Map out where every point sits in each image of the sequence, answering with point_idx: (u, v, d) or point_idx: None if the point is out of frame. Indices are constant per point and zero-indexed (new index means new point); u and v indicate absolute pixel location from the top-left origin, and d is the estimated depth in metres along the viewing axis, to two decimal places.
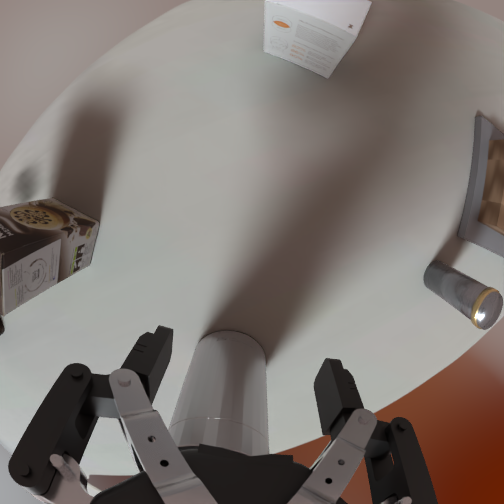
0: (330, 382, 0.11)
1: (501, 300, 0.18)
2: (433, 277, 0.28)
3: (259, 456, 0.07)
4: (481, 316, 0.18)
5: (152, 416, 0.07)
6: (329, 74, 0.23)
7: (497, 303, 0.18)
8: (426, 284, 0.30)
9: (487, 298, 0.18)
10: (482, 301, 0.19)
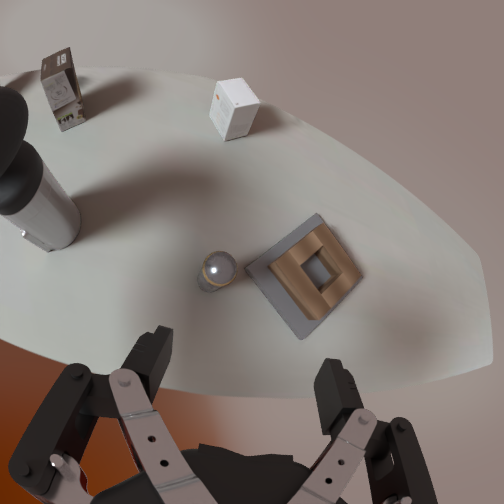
0: (330, 382, 0.11)
1: (234, 267, 0.34)
2: None
3: (259, 456, 0.07)
4: (208, 259, 0.33)
5: (152, 417, 0.07)
6: (224, 137, 0.50)
7: (229, 265, 0.34)
8: None
9: (220, 252, 0.34)
10: None
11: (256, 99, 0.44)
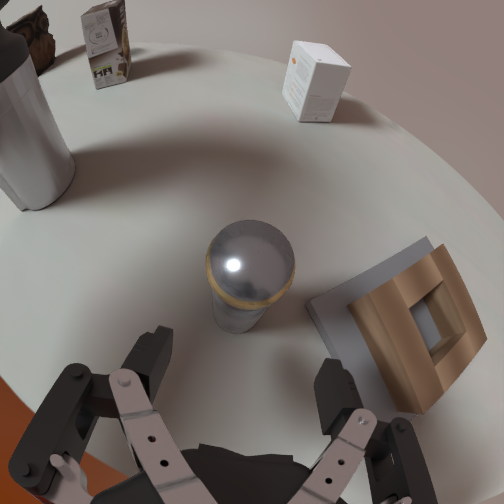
0: (330, 382, 0.11)
1: (288, 265, 0.13)
2: None
3: (259, 456, 0.07)
4: (225, 232, 0.13)
5: (152, 417, 0.07)
6: (300, 114, 0.34)
7: (275, 257, 0.13)
8: None
9: None
10: None
11: (345, 63, 0.28)
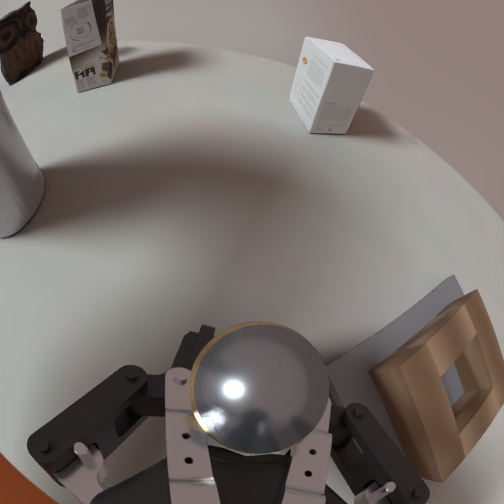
0: None
1: (319, 399, 0.07)
2: None
3: (259, 456, 0.07)
4: (219, 348, 0.07)
5: (194, 416, 0.07)
6: (311, 124, 0.29)
7: (301, 388, 0.07)
8: None
9: None
10: None
11: (367, 65, 0.22)
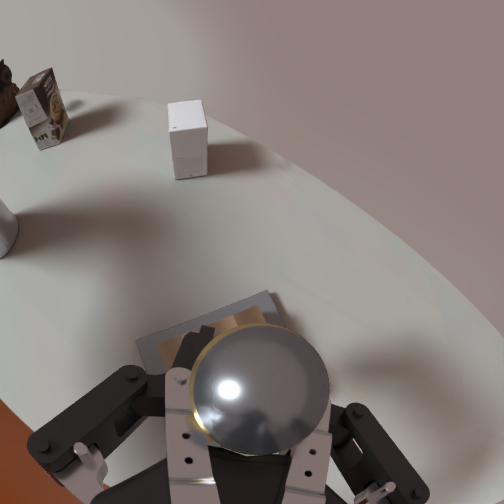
0: None
1: (320, 400, 0.07)
2: None
3: (259, 456, 0.07)
4: (219, 349, 0.07)
5: None
6: (174, 173, 0.41)
7: (301, 389, 0.07)
8: None
9: None
10: None
11: (203, 123, 0.35)
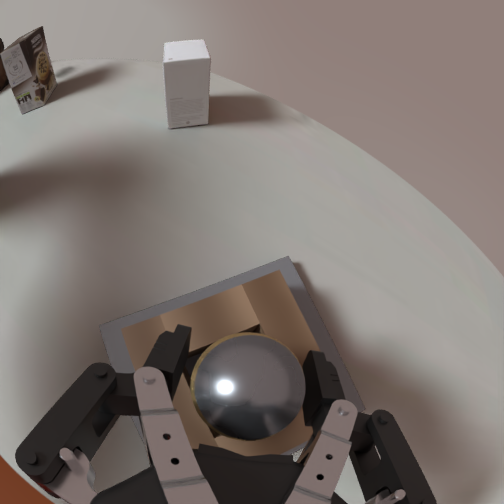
0: (312, 373, 0.12)
1: (297, 396, 0.09)
2: None
3: (259, 456, 0.07)
4: (214, 354, 0.09)
5: (170, 415, 0.07)
6: (167, 120, 0.31)
7: (281, 387, 0.09)
8: None
9: None
10: None
11: (205, 54, 0.25)
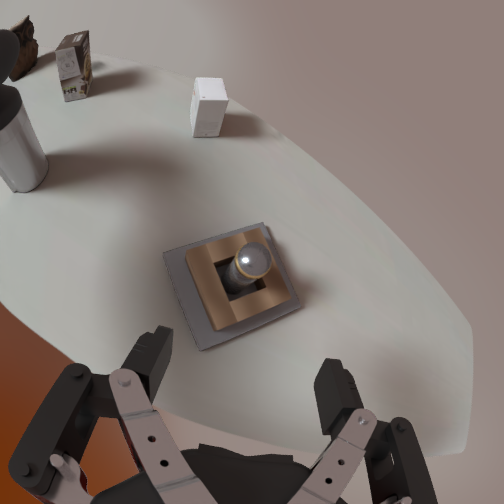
0: (330, 382, 0.11)
1: (269, 262, 0.32)
2: None
3: (259, 456, 0.07)
4: (244, 246, 0.32)
5: (152, 416, 0.07)
6: (193, 132, 0.50)
7: (264, 258, 0.32)
8: (222, 275, 0.42)
9: None
10: None
11: (225, 96, 0.44)
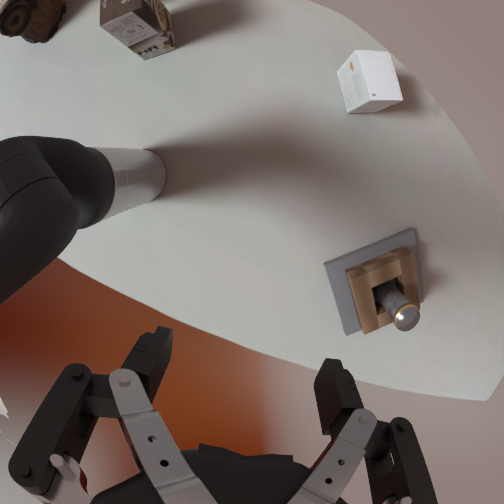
0: (330, 382, 0.11)
1: (416, 321, 0.35)
2: None
3: (259, 456, 0.07)
4: (404, 313, 0.34)
5: (152, 416, 0.07)
6: (349, 111, 0.37)
7: (414, 319, 0.34)
8: None
9: (413, 307, 0.34)
10: (410, 306, 0.34)
11: (399, 93, 0.28)
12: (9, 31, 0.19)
